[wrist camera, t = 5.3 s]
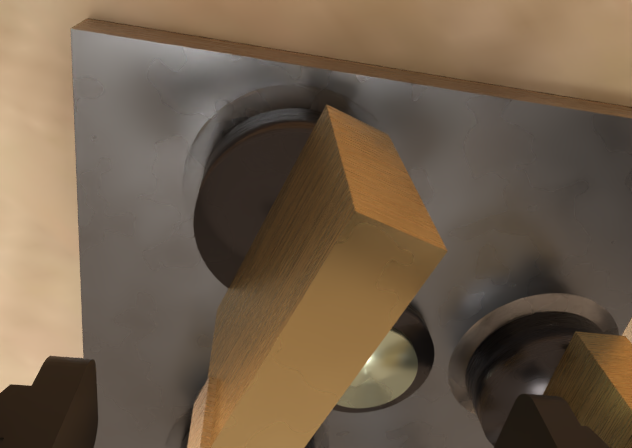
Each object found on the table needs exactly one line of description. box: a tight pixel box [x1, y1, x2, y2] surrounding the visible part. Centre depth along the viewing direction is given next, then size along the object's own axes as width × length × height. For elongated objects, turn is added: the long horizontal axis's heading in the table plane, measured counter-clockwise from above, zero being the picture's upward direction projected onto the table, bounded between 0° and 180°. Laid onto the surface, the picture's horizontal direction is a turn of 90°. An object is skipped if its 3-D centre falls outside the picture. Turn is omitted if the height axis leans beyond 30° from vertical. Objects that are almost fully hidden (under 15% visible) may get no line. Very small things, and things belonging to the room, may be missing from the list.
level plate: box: [71, 19, 632, 448], centre depth 21 cm, size 20×20×3 cm
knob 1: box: [187, 104, 447, 448], centre depth 14 cm, size 7×6×8 cm
